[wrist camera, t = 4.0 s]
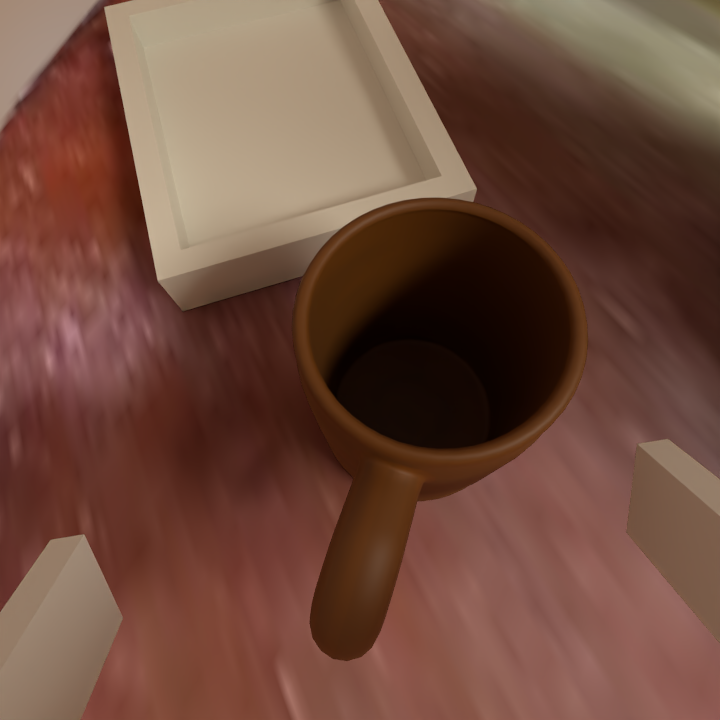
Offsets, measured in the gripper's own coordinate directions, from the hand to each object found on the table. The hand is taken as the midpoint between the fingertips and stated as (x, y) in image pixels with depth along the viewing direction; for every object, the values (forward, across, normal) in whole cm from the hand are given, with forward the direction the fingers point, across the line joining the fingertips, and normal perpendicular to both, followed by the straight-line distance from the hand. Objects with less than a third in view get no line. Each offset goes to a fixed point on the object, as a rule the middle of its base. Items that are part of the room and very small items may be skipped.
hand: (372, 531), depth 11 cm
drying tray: (+20, -2, +10) cm, 23 cm away
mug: (+8, +1, -4) cm, 9 cm away
